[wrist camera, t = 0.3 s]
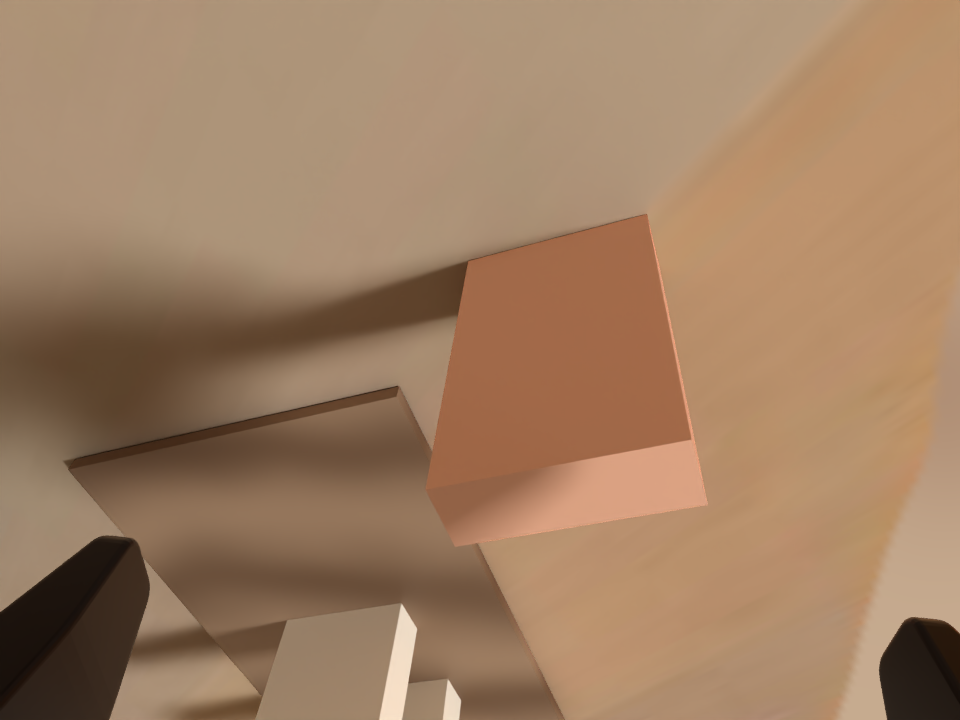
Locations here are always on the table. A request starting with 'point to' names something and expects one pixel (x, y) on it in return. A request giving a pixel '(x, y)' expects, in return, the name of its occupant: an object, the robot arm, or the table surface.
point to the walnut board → (319, 543)
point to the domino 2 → (431, 701)
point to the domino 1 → (342, 667)
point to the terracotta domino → (563, 392)
